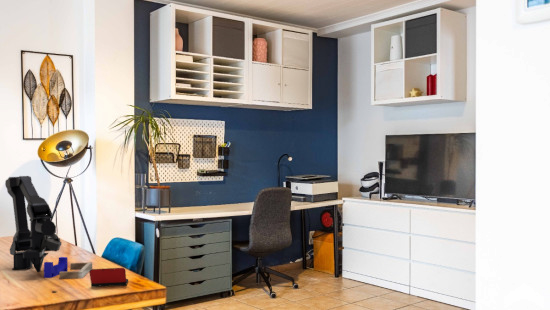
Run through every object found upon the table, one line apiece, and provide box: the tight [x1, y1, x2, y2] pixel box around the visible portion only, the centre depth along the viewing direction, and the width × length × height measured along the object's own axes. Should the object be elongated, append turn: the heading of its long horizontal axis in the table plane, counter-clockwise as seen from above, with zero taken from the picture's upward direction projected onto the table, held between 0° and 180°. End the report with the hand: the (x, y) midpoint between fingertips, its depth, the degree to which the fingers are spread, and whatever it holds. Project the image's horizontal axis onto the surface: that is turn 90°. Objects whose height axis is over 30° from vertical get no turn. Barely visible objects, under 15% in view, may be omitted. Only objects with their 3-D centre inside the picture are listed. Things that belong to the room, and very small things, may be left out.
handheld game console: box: [88, 267, 129, 288], centre depth 204 cm, size 12×11×7 cm
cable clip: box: [43, 256, 69, 279], centre depth 223 cm, size 12×4×6 cm, turn 170°
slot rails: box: [58, 262, 93, 280], centre depth 224 cm, size 8×19×2 cm, turn 7°
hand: (38, 272), depth 222 cm, fingers closed
